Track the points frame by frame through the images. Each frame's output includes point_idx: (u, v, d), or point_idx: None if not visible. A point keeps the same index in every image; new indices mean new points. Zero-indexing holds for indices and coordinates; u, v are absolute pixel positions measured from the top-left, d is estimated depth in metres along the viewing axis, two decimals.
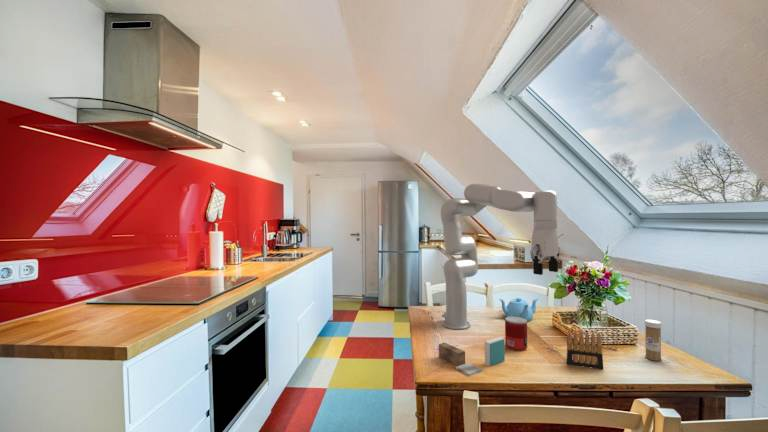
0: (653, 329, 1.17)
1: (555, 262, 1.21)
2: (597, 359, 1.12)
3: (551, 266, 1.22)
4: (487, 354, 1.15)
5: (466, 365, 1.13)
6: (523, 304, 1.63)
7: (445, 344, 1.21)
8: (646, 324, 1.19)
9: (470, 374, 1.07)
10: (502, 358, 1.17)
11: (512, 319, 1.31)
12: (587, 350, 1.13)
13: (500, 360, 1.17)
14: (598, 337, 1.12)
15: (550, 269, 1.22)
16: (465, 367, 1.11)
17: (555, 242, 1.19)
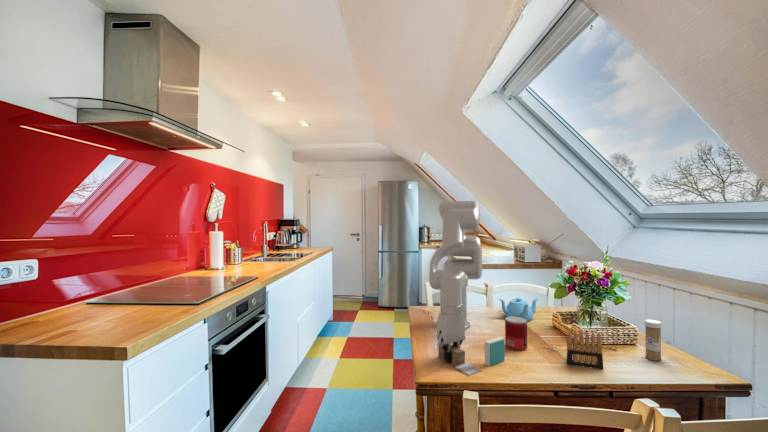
0: (653, 329, 1.17)
1: None
2: (597, 359, 1.12)
3: None
4: (487, 354, 1.15)
5: (465, 364, 1.13)
6: (523, 304, 1.63)
7: None
8: (646, 324, 1.19)
9: (469, 374, 1.07)
10: (502, 358, 1.17)
11: (512, 319, 1.31)
12: (587, 350, 1.13)
13: (500, 360, 1.17)
14: (598, 337, 1.12)
15: None
16: (464, 367, 1.12)
17: (460, 327, 1.17)
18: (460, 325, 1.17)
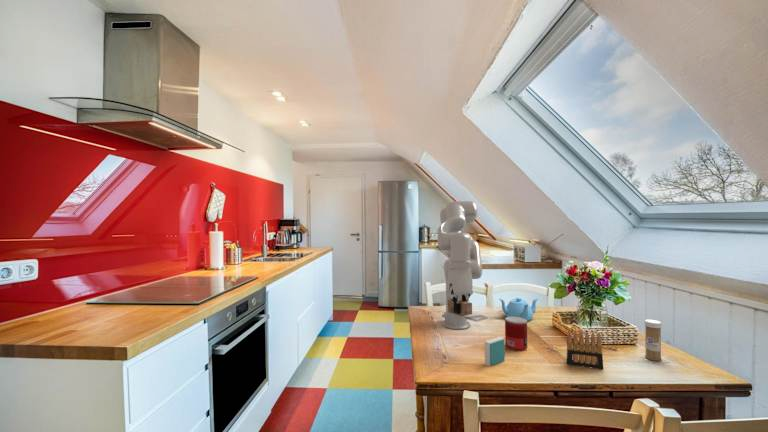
0: (653, 329, 1.17)
1: None
2: (597, 359, 1.12)
3: None
4: (487, 354, 1.15)
5: (473, 314, 1.26)
6: (523, 304, 1.63)
7: None
8: (646, 324, 1.19)
9: (477, 320, 1.20)
10: (502, 358, 1.17)
11: (512, 319, 1.31)
12: (587, 350, 1.13)
13: (500, 360, 1.17)
14: (598, 337, 1.12)
15: None
16: (472, 316, 1.24)
17: (469, 281, 1.29)
18: (468, 279, 1.29)
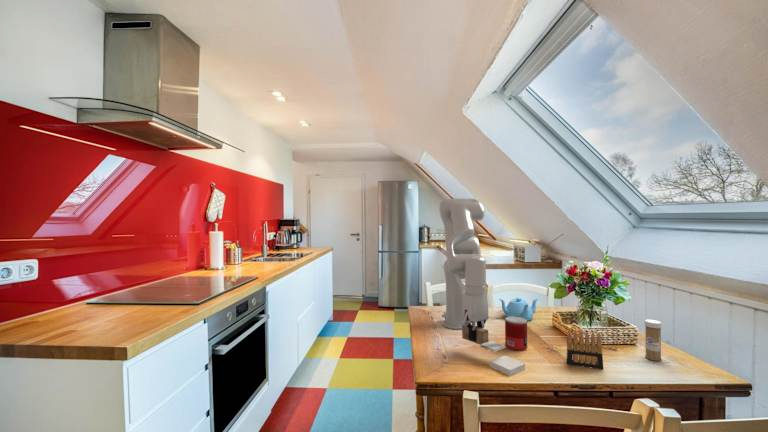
0: (653, 329, 1.17)
1: None
2: (597, 359, 1.12)
3: None
4: (499, 368, 1.10)
5: (489, 342, 1.20)
6: (523, 304, 1.63)
7: None
8: (646, 324, 1.19)
9: (494, 350, 1.14)
10: None
11: (512, 319, 1.31)
12: (587, 350, 1.13)
13: None
14: (598, 337, 1.12)
15: None
16: (489, 344, 1.18)
17: (484, 306, 1.23)
18: (484, 305, 1.23)
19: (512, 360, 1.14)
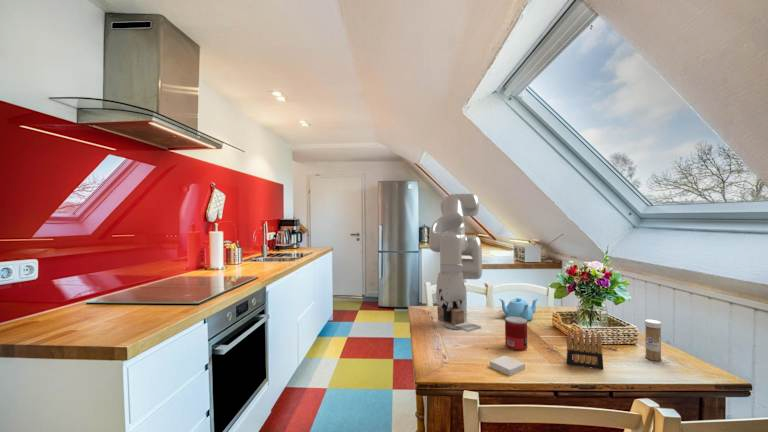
0: (653, 329, 1.17)
1: None
2: (597, 359, 1.12)
3: None
4: (499, 368, 1.10)
5: (464, 323, 1.14)
6: (523, 304, 1.63)
7: None
8: (646, 324, 1.19)
9: (469, 330, 1.07)
10: None
11: (512, 319, 1.31)
12: (587, 350, 1.13)
13: None
14: (598, 337, 1.12)
15: None
16: (464, 325, 1.12)
17: (460, 286, 1.17)
18: (460, 284, 1.17)
19: (512, 360, 1.14)
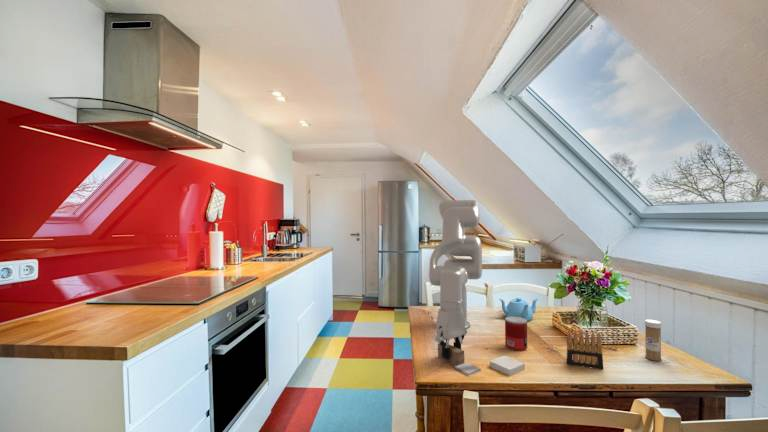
0: (653, 329, 1.17)
1: (458, 345, 1.18)
2: (597, 359, 1.12)
3: None
4: (499, 368, 1.10)
5: (465, 364, 1.14)
6: (523, 304, 1.63)
7: None
8: (646, 324, 1.19)
9: (469, 373, 1.08)
10: None
11: (512, 319, 1.31)
12: (587, 350, 1.13)
13: None
14: (598, 337, 1.12)
15: None
16: (464, 366, 1.12)
17: (460, 322, 1.17)
18: (460, 321, 1.17)
19: (512, 360, 1.14)
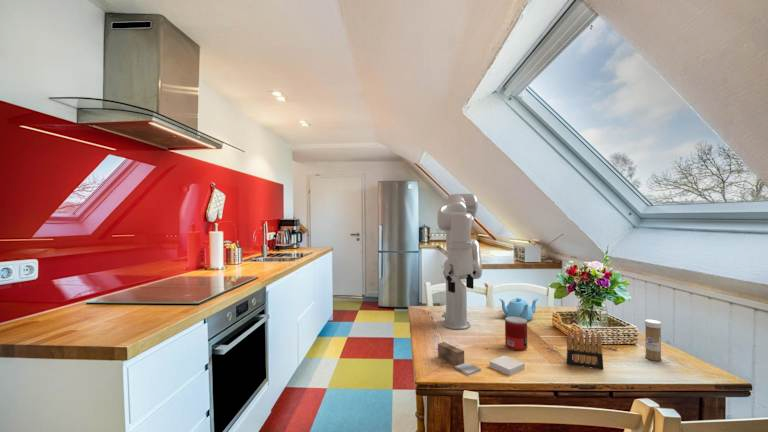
0: (653, 329, 1.17)
1: (471, 279, 1.29)
2: (597, 359, 1.12)
3: (468, 283, 1.30)
4: (499, 368, 1.10)
5: (465, 364, 1.14)
6: (523, 304, 1.63)
7: (444, 344, 1.21)
8: (646, 324, 1.19)
9: (469, 373, 1.08)
10: None
11: (512, 319, 1.31)
12: (587, 350, 1.13)
13: None
14: (598, 337, 1.12)
15: (467, 285, 1.31)
16: (464, 366, 1.12)
17: (469, 261, 1.26)
18: (469, 260, 1.26)
19: (511, 360, 1.14)
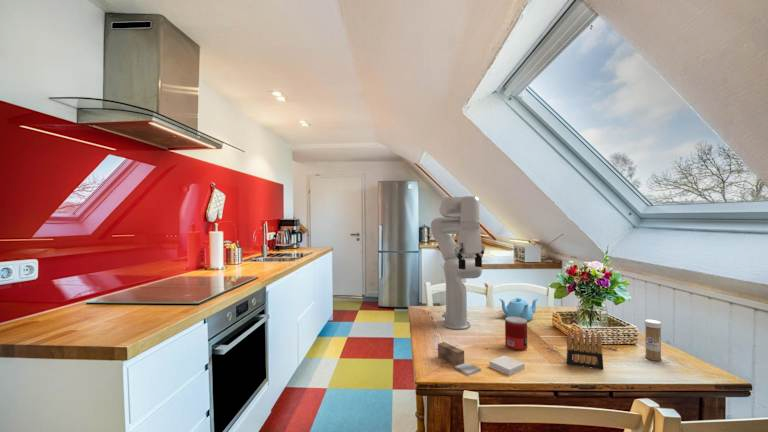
0: (653, 329, 1.17)
1: (479, 258, 1.38)
2: (597, 359, 1.12)
3: (476, 262, 1.39)
4: (498, 368, 1.10)
5: (465, 364, 1.14)
6: (523, 304, 1.63)
7: (444, 344, 1.21)
8: (646, 324, 1.19)
9: (469, 373, 1.08)
10: None
11: (512, 319, 1.31)
12: (587, 350, 1.13)
13: None
14: (598, 337, 1.12)
15: (476, 265, 1.39)
16: (464, 366, 1.12)
17: (478, 241, 1.36)
18: (478, 239, 1.36)
19: (511, 360, 1.14)
